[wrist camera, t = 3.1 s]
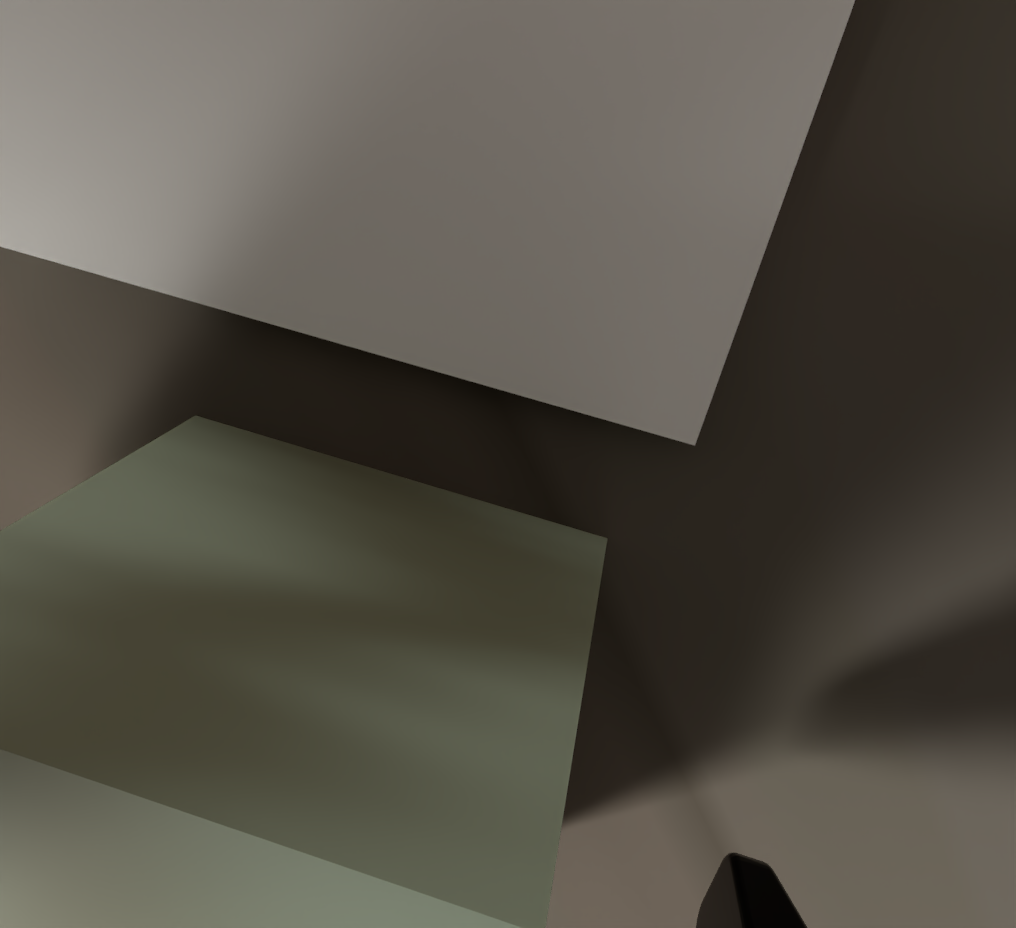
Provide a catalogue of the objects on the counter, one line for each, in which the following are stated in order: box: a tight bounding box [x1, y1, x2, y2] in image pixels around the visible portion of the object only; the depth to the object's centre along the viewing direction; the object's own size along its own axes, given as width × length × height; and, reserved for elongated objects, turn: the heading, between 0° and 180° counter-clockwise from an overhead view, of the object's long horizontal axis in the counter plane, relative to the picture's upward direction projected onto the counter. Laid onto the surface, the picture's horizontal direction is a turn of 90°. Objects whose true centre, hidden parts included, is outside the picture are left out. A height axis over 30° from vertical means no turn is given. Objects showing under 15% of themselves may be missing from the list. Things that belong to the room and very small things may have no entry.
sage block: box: [0, 415, 608, 928], centre depth 8 cm, size 5×5×5 cm
